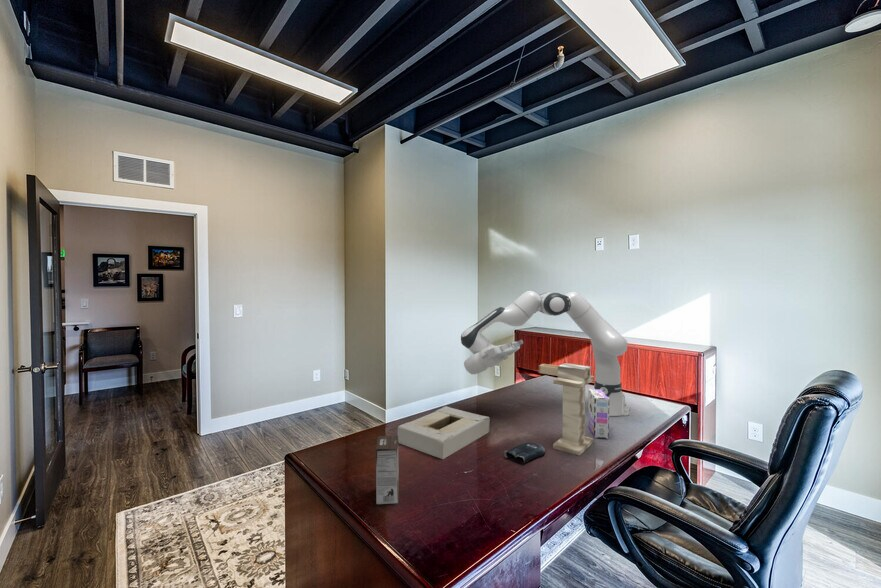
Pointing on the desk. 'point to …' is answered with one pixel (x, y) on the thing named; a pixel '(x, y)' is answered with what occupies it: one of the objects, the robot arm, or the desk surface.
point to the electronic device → (525, 452)
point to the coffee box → (387, 470)
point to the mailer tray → (553, 370)
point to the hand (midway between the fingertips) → (516, 342)
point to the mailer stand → (573, 408)
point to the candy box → (598, 413)
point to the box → (443, 431)
